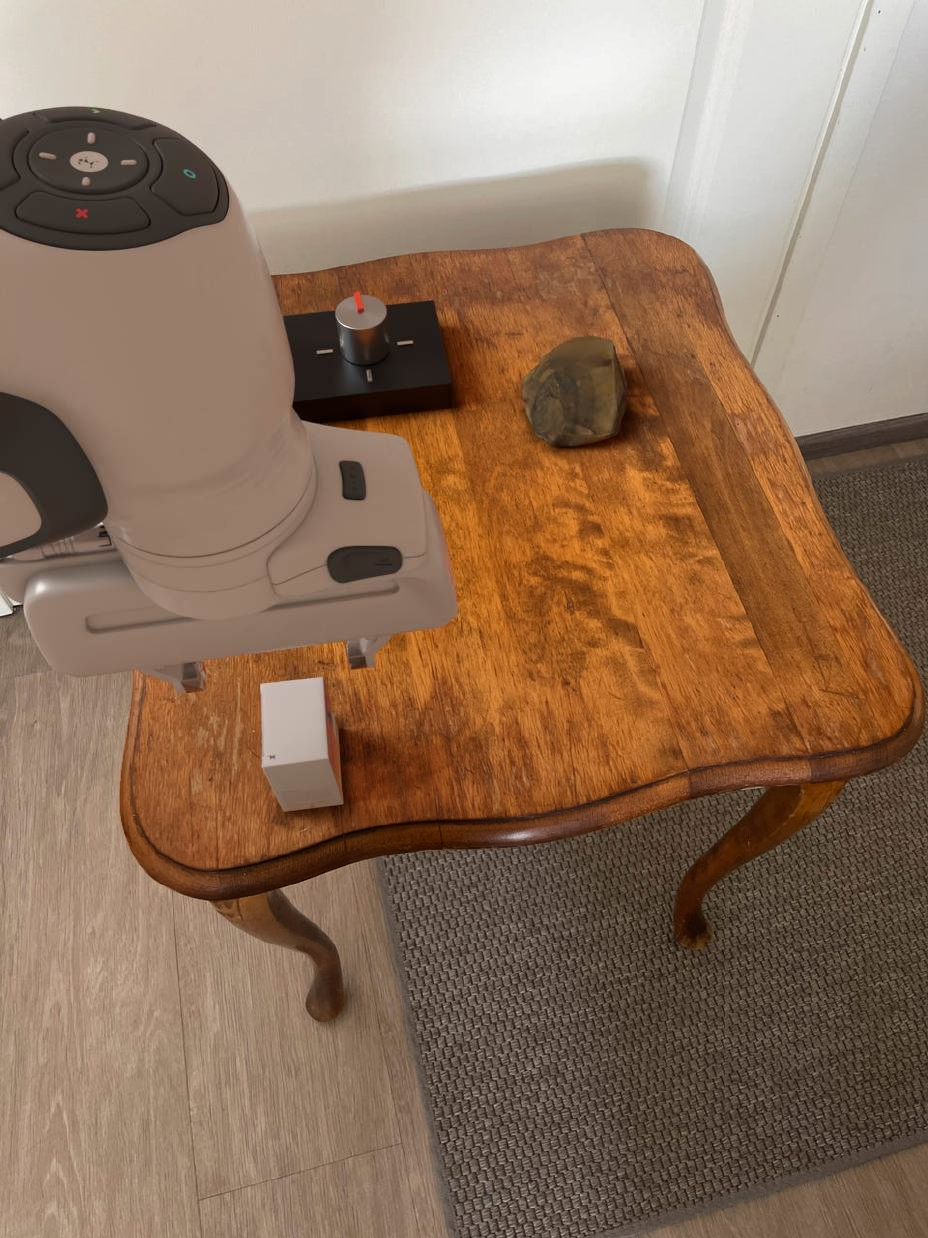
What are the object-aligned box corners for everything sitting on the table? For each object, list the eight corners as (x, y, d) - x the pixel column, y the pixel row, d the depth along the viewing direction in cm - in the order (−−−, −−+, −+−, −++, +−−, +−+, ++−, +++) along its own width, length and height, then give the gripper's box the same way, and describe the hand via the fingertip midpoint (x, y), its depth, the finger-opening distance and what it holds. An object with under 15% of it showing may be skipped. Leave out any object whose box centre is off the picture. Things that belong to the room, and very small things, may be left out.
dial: (393, 361, 80) (390, 322, 76) (344, 368, 79) (339, 329, 76) (385, 327, 82) (381, 288, 78) (337, 334, 82) (331, 295, 78)
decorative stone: (638, 446, 79) (646, 417, 76) (532, 454, 78) (535, 425, 75) (615, 361, 84) (621, 331, 81) (515, 368, 84) (518, 338, 81)
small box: (344, 806, 62) (330, 761, 55) (282, 813, 61) (260, 769, 55) (339, 726, 65) (325, 674, 58) (280, 733, 65) (259, 681, 58)
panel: (295, 426, 80) (290, 400, 77) (288, 340, 86) (282, 313, 83) (452, 407, 81) (452, 381, 78) (434, 325, 87) (433, 298, 84)
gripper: (-40, 608, 36) (84, 748, 48) (463, 542, 38) (464, 693, 50) (-21, 488, 40) (91, 647, 51) (441, 432, 41) (447, 598, 53)
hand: (278, 669), depth 51 cm, fingers open, 8 cm apart
